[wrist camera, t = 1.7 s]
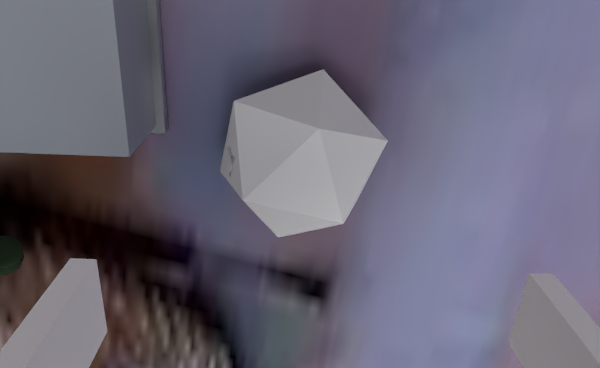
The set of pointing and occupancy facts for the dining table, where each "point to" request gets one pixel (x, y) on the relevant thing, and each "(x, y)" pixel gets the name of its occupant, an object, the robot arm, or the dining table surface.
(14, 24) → the slate block
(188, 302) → the dining table surface
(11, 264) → the toy figurine
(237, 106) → the die
